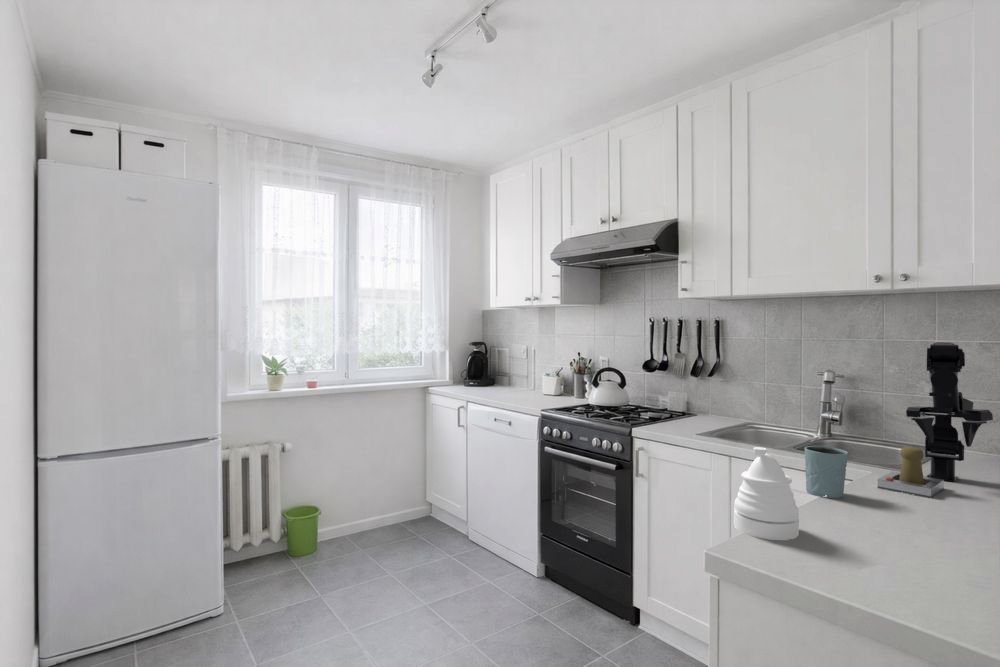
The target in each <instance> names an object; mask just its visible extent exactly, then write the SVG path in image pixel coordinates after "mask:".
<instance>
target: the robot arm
mask: <svg viewBox="0 0 1000 667" xmlns="http://www.w3.org/2000/svg"><path fill="white" fill-rule="evenodd" d="M929 346H930V347H927V348H926V371H927V372H929V373H928V374H929V379H930V384H931V392H929V393H928V394H929V395H928V396H929V397H932V403H933V404H932V405H933V406H909V407H907V408H906V410H905V415H906V418H911V421H914V422H915V423H916V425H917V426H918V427H919V428H920V430H921V431H922V433H923V434H924V436H925V438H924V439H925V442H924V444H925V446H924V448H925V449H924V451H925V453H924V457H925V458H930V473H929V474H927V475H926V477H929V478H935V479H941V480H944V481H947V482H952V483H954V482H956V481H957V480H959V479H958V478H960V477H959V476H956V461H959V462H961V461H965V445H966V447H967V448H970V447H972V444H973V442H974V439H975V436H976V435H977V431H978V430H979V428H980V427H981V426H982V425H983V424H987V423H988V422H990V421H994V419H993V418H994V416H993V413H992V412H991V410H990V409H979V408H974V402H973V401H971V400H969V399H967V398H965V397H963V392H962V391H959V386H958V383H959V378H958V374H959V373H961V370H963V367H965V366H966V360H965V359H966V355H965V354H966V353H965V352H964V351H963V349H962V348H959V344H955V343H953V342H948V341H947V342H943V341H942V342H934V343H930V344H929ZM952 418H960V419H963V420H965V421H961V423H962V425H961V426H962V430H963V435H964V437H963V438H964V442H965V445H964V444H963V443H962V440H961V439H960V440H959V432H958V430H957V428H956V427H954V426H953V425H952ZM933 423H934V424H933Z"/></svg>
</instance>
